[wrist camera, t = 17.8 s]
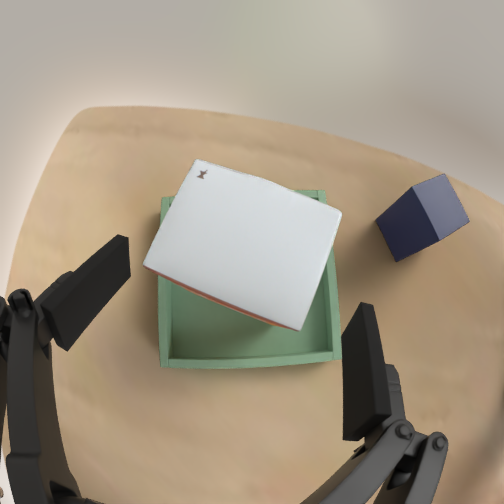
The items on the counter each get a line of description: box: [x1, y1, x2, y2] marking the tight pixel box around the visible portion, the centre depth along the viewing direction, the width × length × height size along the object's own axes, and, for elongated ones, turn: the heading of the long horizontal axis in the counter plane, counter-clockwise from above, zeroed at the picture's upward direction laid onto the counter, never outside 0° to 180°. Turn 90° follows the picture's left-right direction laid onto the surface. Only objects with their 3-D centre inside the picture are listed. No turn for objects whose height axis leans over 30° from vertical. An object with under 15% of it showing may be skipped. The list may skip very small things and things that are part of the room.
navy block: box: [376, 174, 470, 262], centre depth 23 cm, size 5×5×8 cm
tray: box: [158, 190, 342, 369], centre depth 25 cm, size 16×16×2 cm
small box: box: [143, 159, 342, 332], centre depth 19 cm, size 8×6×13 cm
